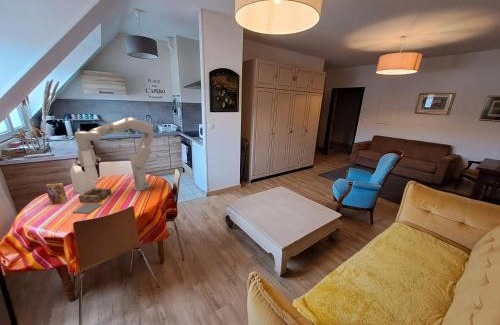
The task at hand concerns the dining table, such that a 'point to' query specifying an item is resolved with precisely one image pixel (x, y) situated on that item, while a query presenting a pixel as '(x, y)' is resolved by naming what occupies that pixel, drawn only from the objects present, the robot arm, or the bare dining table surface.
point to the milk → (80, 180)
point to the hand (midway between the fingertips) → (90, 170)
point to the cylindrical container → (89, 167)
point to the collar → (95, 195)
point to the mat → (87, 208)
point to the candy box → (56, 193)
